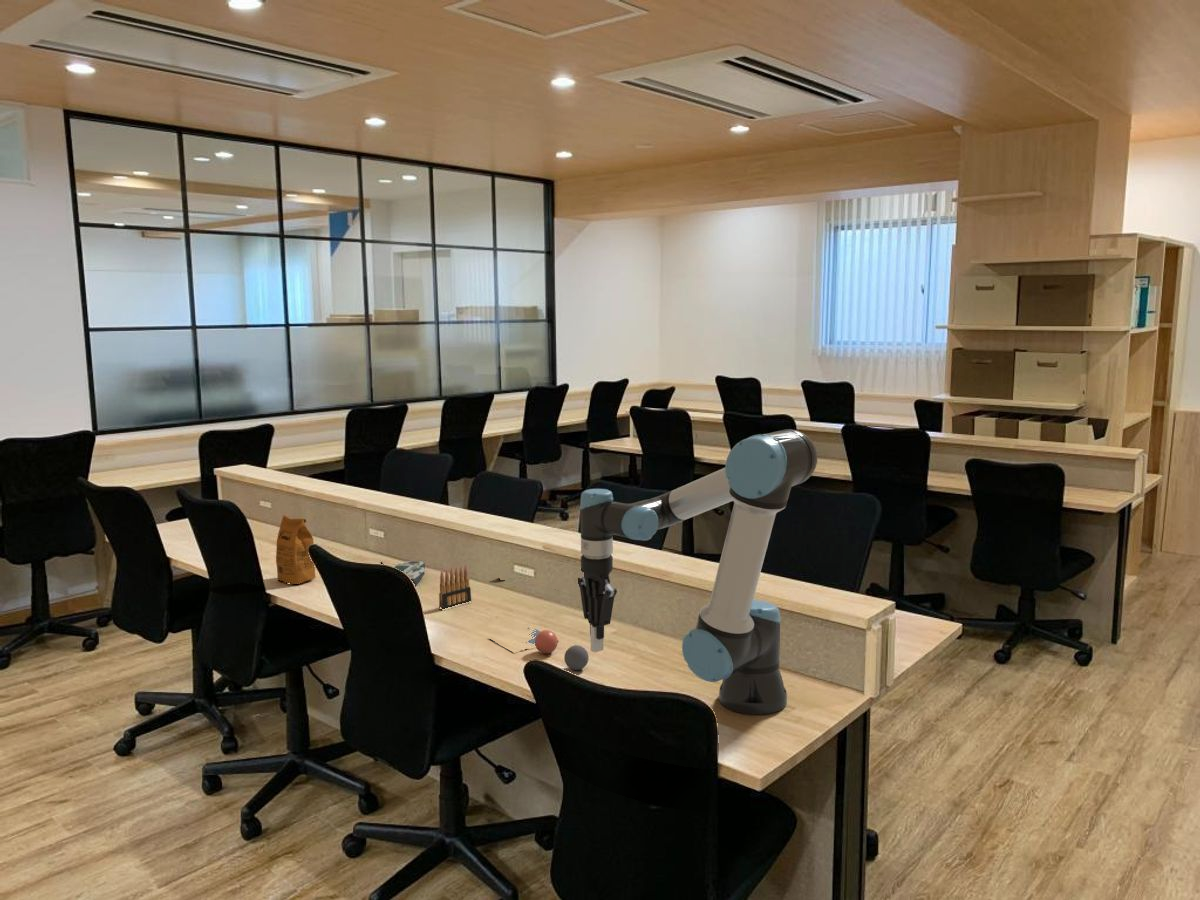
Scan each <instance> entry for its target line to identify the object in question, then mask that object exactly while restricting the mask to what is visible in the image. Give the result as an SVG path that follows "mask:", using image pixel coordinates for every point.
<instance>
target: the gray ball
mask: <svg viewBox="0 0 1200 900" xmlns="http://www.w3.org/2000/svg"><path fill="white" fill-rule="evenodd" d="M588 663H589V652H588V651H587V650H586V648H585V647H583V646H581V645H577V644H574V645H571V646H570V647H568V648H567V650H566V651H565V653H564V664H565V665H566V666H567V667H568V668H569V669H571V670H574V671H580V670H582V669H584V668H585V667H586V666H587V665H588Z"/></svg>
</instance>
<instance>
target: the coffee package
mask: <svg viewBox="0 0 1200 900" xmlns="http://www.w3.org/2000/svg"><path fill="white" fill-rule="evenodd" d="M306 523H307V520H306V518H290V517H289V516H287V515H286V514H284V515H282V519H281V522H280V525H279V529H278V533H277V537H276V550H275V563H276V571H277V573H276V574H277V581H278V580H280V581H283V583H284V582H285V583H290V584H299V585H301V584H303V583H306V582H309V580H310V581H312V580H314V579H316V566H315V567H314V564H313V562H312V561H311V559H310V557H309V554H308V547H309V546H310V545H314V537H313V536H312V534H311V531H309V529H308V527H307V526H306ZM280 581H279V582H280ZM285 583H284V584H285ZM300 583H301V584H300Z"/></svg>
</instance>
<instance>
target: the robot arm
mask: <svg viewBox="0 0 1200 900" xmlns="http://www.w3.org/2000/svg"><path fill="white" fill-rule="evenodd" d="M817 465H818V451H817V447H816V445H815V444H814V442H813V441H812V439H811V438H810V437H809V436H807V435H806V434H805V433H803V432H801V431H799V430H796V429H789V428H788V429H781V430H777V431H773V432H769V433H768V432H767V433H762V434H761V433H759V434H754V435H751V436H748V437H747V438H744V439H742V440H740V441H739V442H737V443H735V445H734V446H733V447H732V449H731V450H730V451H729V453H728V455H727V458H726V460H725V467H723V468H721V469H718V470H717V471H714V472H712V473H710V474H707V475H705V476H702V477H700V478H698V479H696V480H693V481H691V482H689V483H687V484H685V485H682V486H679V487H677V488H675V489H673V490H670V491H667V492H665V493H663V494H660V495H658V496H655V497H652V498H649V499H644V500H639V501H637V502H632V503H625V502H624V503H623V502H618V501H614V497H613V496H614V495H613V492H612V491H611V490H609V489H607V488H589V489H586V490H584V491H582V492H581V494H580V503H579V505H580V506H579V514H580V515H579V516H580V554H582V555H581V556H580V562H581V571H582V572H584V577H582V578H578V584H579V587H578V588H579V591H580V598H581V605H582V612H583V619H585V620H587V621H588V624H589V635H590V652H592V653H599V652H601V651H604V638H605V626H608V625H610V624H611V619H612V614H613V609H614V608H613V607H614V602H615V601H614V600H615V597H616V596H617V592H618V590H617V588H613V587H612V586H611V579H610V574H611V573H612V572H613V567H614V566H613V561H614V559H613V558H614V557H613V556H612V554H614V547H613V546H614V545H613V543H614V540H613V538H614V537H613V536H619V537H621V538H622V537H623V538H627V539H629V540H634V541H649V540H651V539H652V538H653V536H654V535H655V534H656V533H657V531H659V530H661V529H665V528H669V527H674V526H676V525H678V524H681V523H683V522H684V521H685V520H688V519H691V518H693V517H695V516H698V515H700V514H703V513H705V512H708V511H711V510H713V509H716V508H718V507H721V506H723V505H725V504H728V503H730V502H733V507H732V509H731V510H732V511H731V514H730V520H729V523H728V526H727V531H726V535H725V540H724V544H723V548H722V550H721V551H722V552H721V556H720V560H719V563H718V568H717V572H716V575H715V580H714V584H713V588H712V592H711V596H710V600H709V603H707V604H706V605H703V606H702V607H701V608H700V610H699V614H698V617H697V621H696V626H695V628H694V629H691V630H689V631H688V632H687V634H686V635H685V636H684V637H683V640H682V645H681V652H682V656H683V660H684V662H686V664H687V667H688V668H689V670H690V671H691V672H692V673H693V675H695V676H696V677H698V678H699V679H701V680H703V681H705V682H710V683H716V682H720V681H722V682H721V685H720V686H719V690H718V693H719V694H718V697H719V698H718V699H719V700H718V701H719V702H720V704H721V705H722V706H723V707H724V708H726V709H728V710H730V711H731V712H736V713H739V714H746V715H755V716H758V715H759V716H760V715H761V716H762V715H770V714H774V713H777V711H778V712H780V711H781V709H782V710H783V709H784V708H786V706H787V703H788V702H787V701H788V692H787V690H786V687H785V685H784V681H783V677H782V676H783V675H782V674H781V670H780V655H781V654H780V652H781V651H780V649H781V648H780V647H781V643H780V642H781V623H782V621H781V617H780V614H781V613H780V609H779V608H778V607H777V605H775V604H773V603H771V602H767V601H764V600H758V599H755V594H756V590H757V587H758V582H759V581H760V576H761V571H762V568H763V564H764V562H765V561H764V560H765V556H766V552H767V550H768V545H769V542H770V539H771V534H772V531H773V530H772V529H773V526H774V523H775V519H776V516H777V513H779V512H781V511H782V510H784V509H786V507H787V504H788V500H789V497H790V493H791V490H792V487H794V486H797V485H801V484H803V483H804V482H806V481H807V480H809V478H810V477H812V475H813V474H814V472H815V470H816V468H817Z"/></svg>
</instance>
